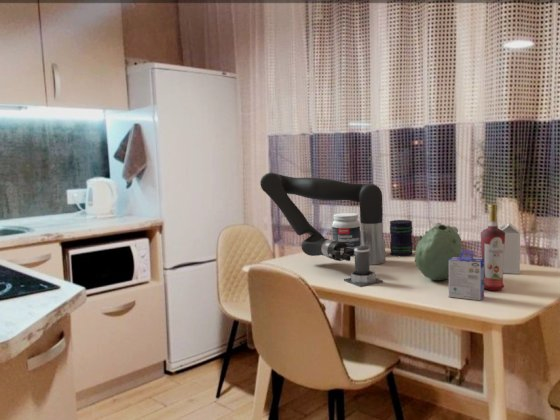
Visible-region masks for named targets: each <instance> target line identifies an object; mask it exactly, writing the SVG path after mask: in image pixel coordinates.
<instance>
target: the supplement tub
mask: <svg viewBox="0 0 560 420" xmlns="http://www.w3.org/2000/svg"><path fill="white" fill-rule="evenodd" d="M358 219H359V214H358V213H353V212H341V213H335V214H333V221H332V224H331V230H332V232H331V233H332V235H331V236H332V240H336V241H341V242H344V243H346V244H347V245H348V247H351V248H354V247H357V246H361V228H360V220H358ZM354 255H355V253H354Z"/></svg>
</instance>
